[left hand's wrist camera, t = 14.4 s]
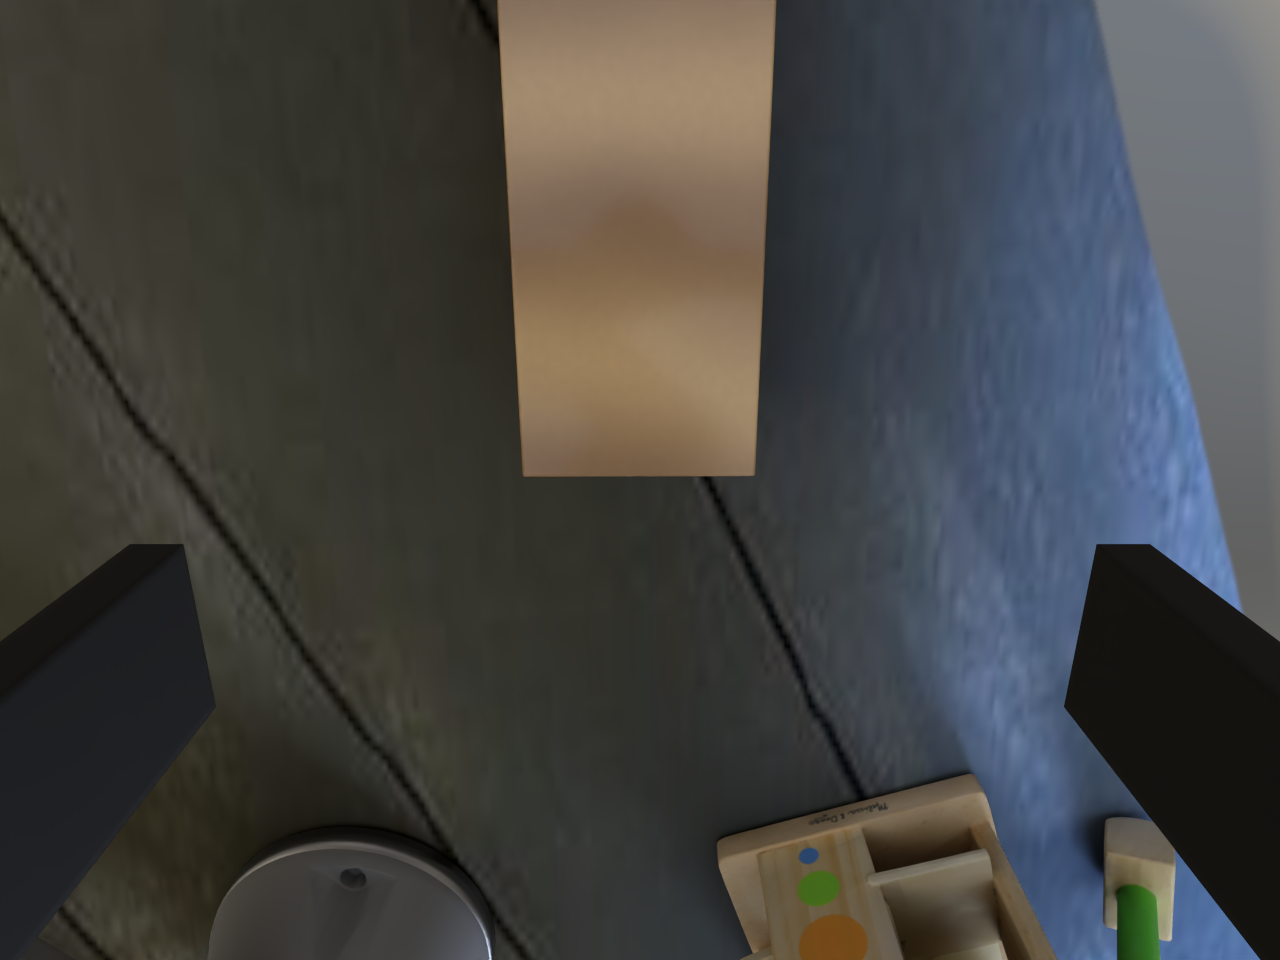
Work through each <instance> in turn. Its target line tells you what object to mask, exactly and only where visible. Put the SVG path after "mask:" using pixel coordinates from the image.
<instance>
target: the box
mask: <svg viewBox="0 0 1280 960" xmlns="http://www.w3.org/2000/svg"><path fill="white" fill-rule="evenodd" d="M497 10H498V29H499V47H500V66H501V84H502V103H503V121H504V140H505V158H506V177H507V195H508V214H509V232H510V251H511V270H512V288H513V307H514V325H515V344H516V362H517V381H518V399H519V418H520V436H521V455H522V473H523V476H525V477H590V476H754V474H755V463H756V441H757V419H758V396H759V374H760V352H761V330H762V308H763V286H764V264H765V242H766V220H767V198H768V176H769V154H770V132H771V110H772V88H773V66H774V44H775V21H776V0H497Z"/></svg>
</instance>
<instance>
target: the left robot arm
mask: <svg viewBox="0 0 1280 960" xmlns="http://www.w3.org/2000/svg"><path fill="white" fill-rule="evenodd" d="M215 707H216V705H215V700H214V695H213V690H212V685H211V680H210V675H209V670H208V665H207V660H206V655H205V650H204V645H203V640H202V635H201V630H200V625H199V620H198V615H197V610H196V605H195V600H194V595H193V590H192V585H191V580H190V575H189V570H188V565H187V560H186V555H185V550H184V545H183V544H130V545H128V546H127V547H126V548H124V549H123V550H122V551H120V552H119V553H118V554H116V555H115V556H114V557H112V558H111V559H110V560H108V561H107V562H106V563H104V564H103V565H102V566H100V567H99V568H98V569H96V570H95V571H94V572H92V573H91V574H90V575H88V576H87V577H86V578H84V579H83V580H82V581H80V582H79V583H78V584H76V585H75V586H74V587H72V588H71V589H70V590H68V591H67V592H66V593H64V594H63V595H62V596H60V597H59V598H58V599H56V600H55V601H54V602H53V603H51V604H50V605H49V606H47V607H46V608H45V609H43V610H42V611H41V612H39V613H38V614H37V615H35V616H34V617H33V618H31V619H30V620H29V621H27V622H26V623H25V624H23V625H22V626H21V627H19V628H18V629H17V630H15V631H14V632H13V633H11V634H10V635H9V636H7V637H6V638H5V639H3V640H2V641H1V642H0V960H75V959H73V958H72V957H70V956H68V955H67V954H65V953H63V952H62V951H60V950H58V949H57V948H55V947H53V946H52V945H50V944H49V943H47V942H45V941H44V940H42V939H40V938H39V937H37V936H38V935H39V934H40V933H41V931H42V930H43V929H44V927H45V926H46V925H47V924H48V922H49V921H50V920H51V918H52V917H53V916H54V915H55V913H56V912H57V911H58V909H59V908H60V907H61V906H62V904H63V903H64V902H65V900H66V899H67V898H68V897H69V895H70V894H71V893H72V891H73V890H74V889H75V888H76V886H77V885H78V884H79V882H80V881H81V880H82V879H83V877H84V876H85V875H86V873H87V872H88V871H89V870H90V868H91V867H92V866H93V864H94V863H95V862H96V861H97V859H98V858H99V857H100V855H101V854H102V853H103V852H104V850H105V849H106V848H107V846H108V845H109V844H110V843H111V841H112V840H113V839H114V837H115V836H116V835H117V833H118V832H119V831H120V830H121V828H122V827H123V826H124V824H125V823H126V822H127V821H128V819H129V818H130V817H131V815H132V814H133V813H134V812H135V810H136V809H137V808H138V806H139V805H140V804H141V803H142V801H143V800H144V799H145V797H146V796H147V795H148V794H149V792H150V791H151V790H152V788H153V787H154V786H155V785H156V783H157V782H158V781H159V779H160V778H161V777H162V776H163V774H164V773H165V772H166V770H167V769H168V768H169V767H170V765H171V764H172V763H173V761H174V760H175V759H176V758H177V756H178V755H179V754H180V752H181V751H182V750H183V749H184V747H185V746H186V745H187V743H188V742H189V741H190V740H191V738H192V737H193V736H194V734H195V733H196V732H197V731H198V729H199V728H200V727H201V725H202V724H203V723H204V722H205V720H206V719H207V718H208V716H209V715H210V714H211V712H212V711H213V710H214V709H215ZM1064 707H1065V709H1066V710H1067V711H1068V712H1069V714H1070V715H1071V716H1072V718H1073V719H1074V720H1075V722H1076V723H1077V724H1078V725H1079V727H1080V728H1081V729H1082V731H1083V732H1084V733H1085V734H1086V736H1087V737H1088V738H1089V740H1090V741H1091V742H1092V743H1093V745H1094V746H1095V747H1096V749H1097V750H1098V751H1099V752H1100V754H1101V755H1102V756H1103V758H1104V759H1105V760H1106V761H1107V763H1108V764H1109V765H1110V767H1111V768H1112V769H1113V770H1114V772H1115V773H1116V774H1117V776H1118V777H1119V778H1120V779H1121V781H1122V782H1123V783H1124V785H1125V786H1126V787H1127V788H1128V790H1129V791H1130V792H1131V794H1132V795H1133V796H1134V797H1135V799H1136V800H1137V801H1138V803H1139V804H1140V805H1141V806H1142V808H1143V809H1144V810H1145V812H1146V813H1147V814H1148V815H1149V817H1150V818H1151V819H1152V821H1153V822H1154V823H1155V824H1156V826H1157V827H1158V828H1159V830H1160V831H1161V832H1162V833H1163V835H1164V836H1165V837H1166V839H1167V840H1168V841H1169V843H1170V844H1171V845H1172V846H1173V848H1174V849H1175V850H1176V852H1177V853H1178V854H1179V855H1180V857H1181V858H1182V859H1183V861H1184V862H1185V863H1186V864H1187V866H1188V867H1189V868H1190V870H1191V871H1192V872H1193V873H1194V875H1195V876H1196V877H1197V879H1198V880H1199V881H1200V882H1201V884H1202V885H1203V886H1204V888H1205V889H1206V890H1207V891H1208V893H1209V894H1210V895H1211V897H1212V898H1213V899H1214V900H1215V902H1216V903H1217V904H1218V906H1219V907H1220V908H1221V909H1222V911H1223V912H1224V913H1225V915H1226V916H1227V917H1228V918H1229V920H1230V921H1231V922H1232V924H1233V925H1234V926H1235V927H1236V929H1237V930H1238V931H1239V933H1240V934H1241V935H1242V936H1243V938H1244V939H1245V940H1246V942H1247V943H1248V944H1249V945H1250V947H1251V948H1252V949H1253V951H1254V952H1255V953H1256V954H1257V956H1258V957H1259V958H1260V960H1280V642H1279V641H1278V640H1277V639H1275V638H1274V637H1273V636H1271V635H1270V634H1269V633H1267V632H1266V631H1265V630H1263V629H1262V628H1261V627H1259V626H1258V625H1257V624H1255V623H1254V622H1253V621H1251V620H1250V619H1249V618H1247V617H1246V616H1245V615H1243V614H1242V613H1241V612H1239V611H1238V610H1237V609H1235V608H1234V607H1233V606H1231V605H1230V604H1229V603H1227V602H1226V601H1225V600H1224V599H1222V598H1221V597H1220V596H1218V595H1217V594H1216V593H1214V592H1213V591H1212V590H1210V589H1209V588H1208V587H1206V586H1205V585H1204V584H1202V583H1201V582H1200V581H1198V580H1197V579H1196V578H1194V577H1193V576H1192V575H1190V574H1189V573H1188V572H1186V571H1185V570H1184V569H1182V568H1181V567H1180V566H1178V565H1177V564H1176V563H1174V562H1173V561H1172V560H1170V559H1169V558H1168V557H1166V556H1165V555H1164V554H1162V553H1161V552H1160V551H1158V550H1157V549H1156V548H1154V547H1153V546H1152V545H1150V544H1097V545H1096V550H1095V555H1094V560H1093V565H1092V570H1091V575H1090V580H1089V585H1088V590H1087V595H1086V600H1085V605H1084V610H1083V615H1082V620H1081V625H1080V630H1079V635H1078V640H1077V645H1076V650H1075V655H1074V660H1073V665H1072V670H1071V675H1070V680H1069V685H1068V690H1067V695H1066V700H1065V705H1064ZM494 951H495V929H494V924H493V919H492V916H491V913H490V910H489V908H488V906H487V903H486V901H485V900H484V898H483V896H482V894H481V893H480V891H479V890H478V888H477V887H476V886H475V884H474V883H473V882H472V881H471V880H470V879H469V877H468V876H467V875H466V874H465V873H464V872H463V871H462V870H461V869H459V868H458V867H457V866H456V865H455V864H454V863H452V862H451V861H450V860H448V859H447V858H446V857H444V856H443V855H441V854H439V853H438V852H436V851H435V850H433V849H431V848H429V847H427V846H425V845H423V844H421V843H419V842H417V841H414V840H412V839H409V838H406V837H403V836H400V835H397V834H394V833H390V832H386V831H382V830H376V829H370V828H361V827H328V828H320V829H314V830H309V831H305V832H301V833H298V834H294V835H291V836H288V837H286V838H284V839H281V840H279V841H277V842H275V843H273V844H271V845H270V846H268V847H266V848H265V849H263V850H262V851H260V852H259V853H258V854H256V855H255V856H254V857H253V858H252V859H251V860H250V861H248V863H247V864H246V865H245V866H244V867H243V868H242V869H241V871H240V872H239V873H238V875H237V876H236V878H235V879H234V881H233V883H232V885H231V887H230V888H229V890H228V892H227V894H226V895H225V897H224V899H223V901H222V903H221V905H220V907H219V909H218V911H217V914H216V916H215V919H214V924H213V927H212V930H211V935H210V940H209V953H208V957H207V960H493V957H494Z"/></svg>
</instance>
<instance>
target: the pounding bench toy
mask: <svg viewBox="0 0 1280 960" xmlns="http://www.w3.org/2000/svg"><path fill="white" fill-rule="evenodd" d="M717 853H718V864H719V869H720V871H721V874H722V877H723V880H724V882H725V885H726V887H727V890H728V892H729V895H730V897H731V900H732V902H733V905H734V907H735V910H736V913H737V915H738V918H739V920H740V923H741V925H742V928H743V930H744V932H745V935H746V937H747V940H748V942H749V945H750V947H751V950H752V952H753V954H751V955H749V956H746V957H744V958H742V959H741V960H1058V959H1057V957H1056V955H1055V953H1054V951H1053V949H1052V947H1051V945H1050V943H1049V941H1048V939H1047V937H1046V935H1045V933H1044V931H1043V929H1042V927H1041V925H1040V923H1039V921H1038V919H1037V917H1036V915H1035V913H1034V911H1033V909H1032V907H1031V905H1030V903H1029V901H1028V899H1027V897H1026V895H1025V893H1024V891H1023V889H1022V887H1021V885H1020V883H1019V881H1018V879H1017V877H1016V875H1015V873H1014V871H1013V869H1012V867H1011V865H1010V863H1009V861H1008V859H1007V857H1006V855H1005V853H1004V851H1003V849H1002V847H1001V845H1000V843H999V841H998V837H997V833H996V829H995V826H994V822H993V818H992V814H991V810H990V806H989V803H988V800H987V798H986V795H985V792H984V791H983V789H982V787H981V785H980V783H979V781H978V779H977V778H976V776H975V775H974V774H966V775H962V776H958V777H954V778H950V779H946V780H942V781H939V782H935V783H931V784H927V785H923V786H919V787H915V788H911V789H907V790H904V791H900V792H896V793H892V794H888V795H884V796H880V797H876V798H872V799H868V800H865V801H861V802H857V803H853V804H849V805H845V806H841V807H837V808H834V809H830V810H826V811H822V812H818V813H814V814H811V815H807V816H803V817H799V818H795V819H791V820H788V821H784V822H780V823H776V824H772V825H769V826H765V827H762V828H758V829H754V830H750V831H746V832H742V833H738V834H735V835H731V836H727V837H724V838H723V839H721V840H719V841H718V842H717ZM1175 867H1176V866H1175V849H1174V848H1173V846H1172V845H1171V844H1170V843H1169V841H1168V840H1167V839H1166V837H1165V836H1164V835H1163V833H1162V832H1161V831H1160V830H1159V828H1158V827H1157V826H1156V824H1155V823H1154V822H1152V821H1148V820H1144V819H1139V818H1130V817H1114V818H1109V819H1107V820H1106V821H1105V832H1104V890H1103V923H1104V925H1105V926H1106V927H1108V928H1113V929H1117V960H1160V945H1159V939H1160V940H1165V941H1171V940H1172V919H1173V901H1174V884H1175Z"/></svg>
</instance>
